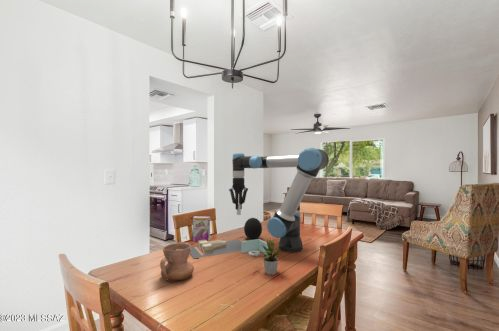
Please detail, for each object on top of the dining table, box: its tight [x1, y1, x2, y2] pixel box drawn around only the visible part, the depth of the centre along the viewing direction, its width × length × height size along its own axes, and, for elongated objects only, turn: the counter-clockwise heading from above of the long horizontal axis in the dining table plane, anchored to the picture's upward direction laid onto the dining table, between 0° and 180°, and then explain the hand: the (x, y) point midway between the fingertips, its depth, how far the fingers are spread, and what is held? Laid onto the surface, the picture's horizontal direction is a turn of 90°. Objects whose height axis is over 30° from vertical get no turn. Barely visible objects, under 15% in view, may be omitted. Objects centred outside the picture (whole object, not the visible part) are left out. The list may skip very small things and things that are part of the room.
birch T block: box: [197, 239, 227, 254], centre depth 158 cm, size 15×15×4 cm
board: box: [189, 239, 242, 260], centre depth 159 cm, size 22×36×1 cm, turn 117°
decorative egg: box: [243, 217, 263, 240], centre depth 179 cm, size 12×12×15 cm
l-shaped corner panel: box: [240, 238, 268, 258], centre depth 148 cm, size 12×12×8 cm
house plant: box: [257, 236, 283, 275], centre depth 125 cm, size 14×14×16 cm
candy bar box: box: [191, 215, 211, 243], centre depth 175 cm, size 11×5×16 cm, turn 84°
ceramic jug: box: [159, 241, 195, 282], centre depth 118 cm, size 18×14×14 cm
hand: (238, 214), depth 166 cm, fingers closed
